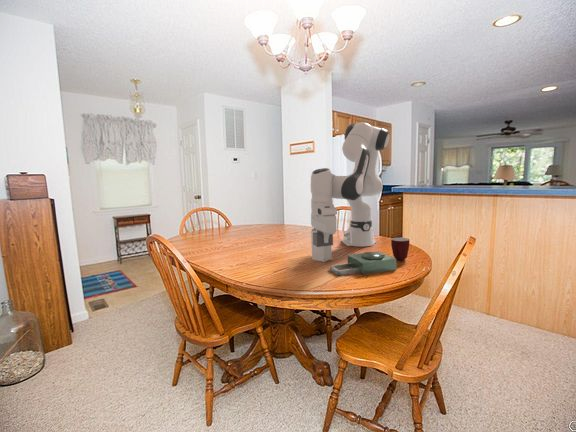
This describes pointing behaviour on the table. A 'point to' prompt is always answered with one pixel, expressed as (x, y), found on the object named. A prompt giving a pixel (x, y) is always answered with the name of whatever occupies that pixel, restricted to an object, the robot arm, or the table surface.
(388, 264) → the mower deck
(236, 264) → the table surface
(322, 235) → the grey rectangular block
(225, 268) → the table surface
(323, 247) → the milk carton
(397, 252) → the mug
